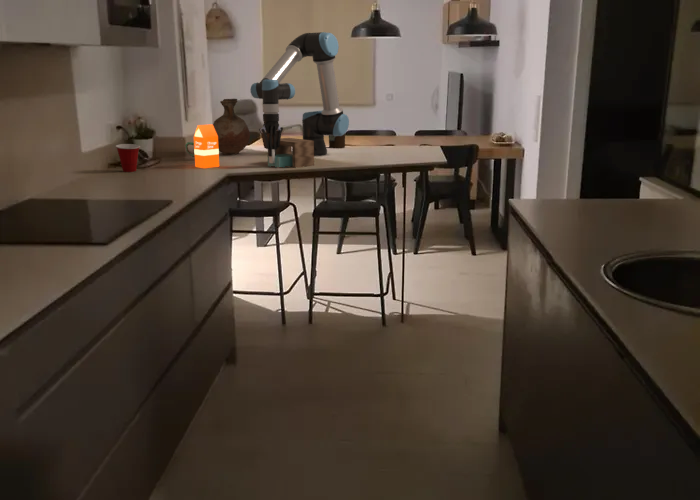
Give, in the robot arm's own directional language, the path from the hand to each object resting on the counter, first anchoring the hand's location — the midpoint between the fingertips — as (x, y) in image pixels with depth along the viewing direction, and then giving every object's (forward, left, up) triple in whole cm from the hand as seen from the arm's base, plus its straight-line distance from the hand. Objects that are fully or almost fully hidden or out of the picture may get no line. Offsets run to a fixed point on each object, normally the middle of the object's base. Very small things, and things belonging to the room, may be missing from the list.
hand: (272, 162), depth 329 cm
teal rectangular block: (-7, 0, -2) cm, 7 cm away
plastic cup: (+56, -35, -2) cm, 66 cm away
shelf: (-12, 0, -2) cm, 13 cm away
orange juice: (+22, -23, -2) cm, 32 cm away
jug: (-14, -55, -2) cm, 57 cm away
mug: (+12, -45, -2) cm, 47 cm away
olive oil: (-78, -38, -2) cm, 87 cm away
